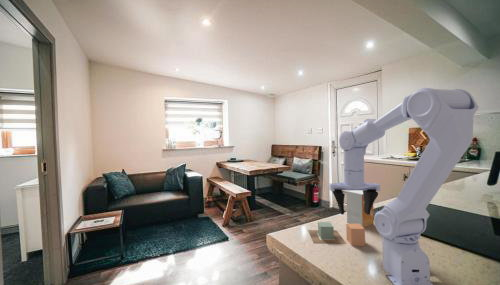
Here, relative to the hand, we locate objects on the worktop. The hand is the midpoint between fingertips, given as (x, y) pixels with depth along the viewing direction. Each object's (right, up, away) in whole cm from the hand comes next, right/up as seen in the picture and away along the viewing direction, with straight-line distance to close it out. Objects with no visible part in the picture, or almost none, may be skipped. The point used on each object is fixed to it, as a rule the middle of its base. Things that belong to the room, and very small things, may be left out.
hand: (354, 213), depth 67 cm
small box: (+10, -10, +15) cm, 20 cm away
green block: (-7, -9, +4) cm, 12 cm away
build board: (-7, -10, +4) cm, 13 cm away
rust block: (0, -10, 0) cm, 10 cm away
